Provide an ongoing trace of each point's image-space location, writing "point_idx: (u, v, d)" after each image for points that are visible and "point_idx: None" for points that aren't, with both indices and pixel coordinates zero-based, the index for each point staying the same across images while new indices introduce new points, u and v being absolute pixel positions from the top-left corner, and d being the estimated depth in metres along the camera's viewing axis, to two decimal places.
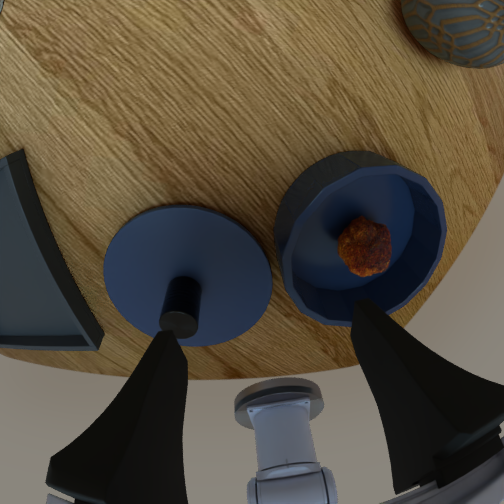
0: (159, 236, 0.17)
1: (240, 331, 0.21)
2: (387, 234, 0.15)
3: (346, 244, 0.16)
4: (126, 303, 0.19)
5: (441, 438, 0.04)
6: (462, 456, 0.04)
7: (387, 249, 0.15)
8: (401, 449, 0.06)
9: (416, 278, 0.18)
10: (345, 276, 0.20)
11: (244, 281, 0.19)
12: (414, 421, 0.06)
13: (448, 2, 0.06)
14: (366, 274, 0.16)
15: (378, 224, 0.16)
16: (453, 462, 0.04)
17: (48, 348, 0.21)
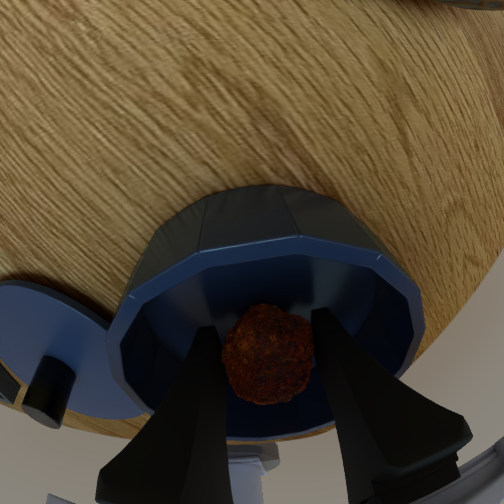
0: (12, 314, 0.10)
1: (135, 413, 0.15)
2: (296, 350, 0.08)
3: (228, 354, 0.10)
4: (17, 369, 0.13)
5: (376, 465, 0.04)
6: (407, 484, 0.04)
7: (294, 374, 0.08)
8: (351, 466, 0.06)
9: None
10: None
11: None
12: (358, 440, 0.06)
13: None
14: None
15: (291, 320, 0.10)
16: (395, 489, 0.04)
17: None
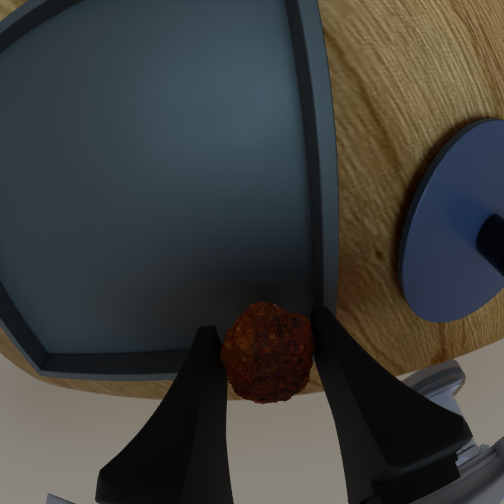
0: (498, 155, 0.09)
1: (496, 291, 0.13)
2: (296, 348, 0.08)
3: (228, 352, 0.10)
4: (423, 259, 0.11)
5: (376, 465, 0.04)
6: (406, 484, 0.04)
7: (294, 373, 0.08)
8: (351, 466, 0.06)
9: None
10: None
11: None
12: (357, 441, 0.06)
13: None
14: None
15: (290, 319, 0.10)
16: (395, 489, 0.04)
17: None
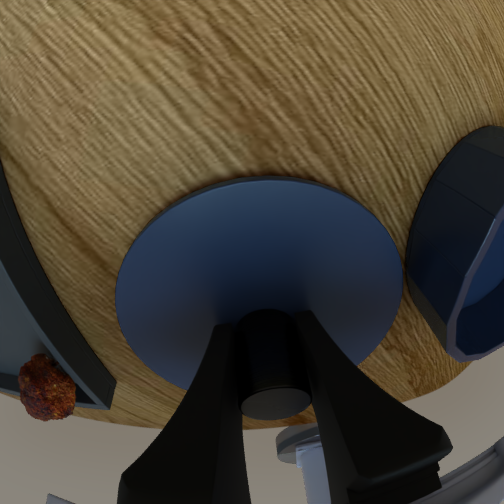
0: (233, 237, 0.09)
1: None
2: (34, 391, 0.09)
3: None
4: (156, 351, 0.11)
5: (349, 473, 0.04)
6: (384, 493, 0.04)
7: (38, 405, 0.09)
8: (331, 470, 0.06)
9: None
10: None
11: (363, 311, 0.11)
12: (335, 447, 0.06)
13: None
14: None
15: (43, 371, 0.10)
16: (371, 498, 0.04)
17: None
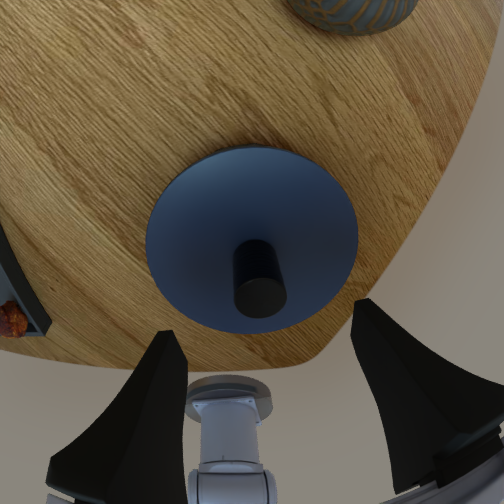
0: (232, 185, 0.13)
1: (311, 311, 0.18)
2: (4, 317, 0.18)
3: None
4: (172, 279, 0.16)
5: (441, 438, 0.04)
6: (462, 456, 0.04)
7: (5, 326, 0.18)
8: (402, 449, 0.06)
9: None
10: None
11: (328, 247, 0.16)
12: (415, 421, 0.06)
13: None
14: (6, 337, 0.18)
15: (10, 307, 0.19)
16: (453, 462, 0.04)
17: None
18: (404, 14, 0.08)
